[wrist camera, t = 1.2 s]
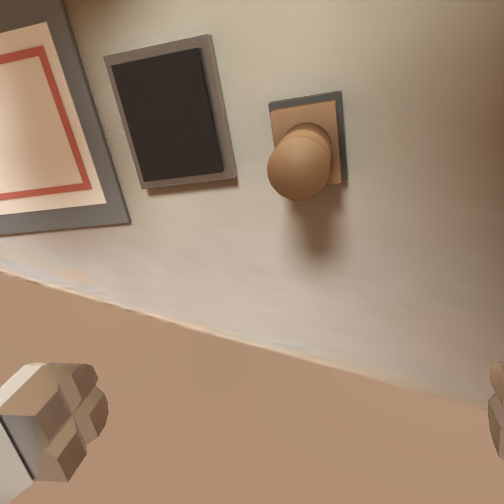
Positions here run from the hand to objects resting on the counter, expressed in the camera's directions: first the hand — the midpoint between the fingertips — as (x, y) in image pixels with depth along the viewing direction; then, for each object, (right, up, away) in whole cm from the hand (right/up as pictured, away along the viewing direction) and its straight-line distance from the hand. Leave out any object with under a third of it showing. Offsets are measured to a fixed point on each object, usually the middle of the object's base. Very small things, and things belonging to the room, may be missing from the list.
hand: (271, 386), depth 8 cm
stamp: (+4, +11, +22) cm, 25 cm away
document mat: (-20, +13, +26) cm, 35 cm away
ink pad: (-6, +13, +23) cm, 27 cm away
